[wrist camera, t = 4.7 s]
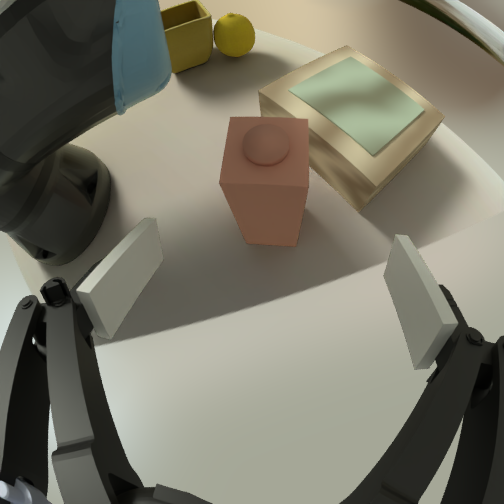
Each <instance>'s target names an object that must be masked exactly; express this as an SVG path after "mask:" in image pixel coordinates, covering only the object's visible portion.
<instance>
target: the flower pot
mask: <svg viewBox="0 0 504 504" xmlns="http://www.w3.org/2000/svg"><path fill="white" fill-rule="evenodd" d="M160 12H161V17H162V22H163V26H164V31H165V36H166V41H167V46H168V50H169V55H170V60H171V66H172V73H178V72H180V71H183V70H186V69H188V68H191V67H194V66H197V65H200V64H203V63H205V62H207V60H208V59H209V57H210V55H211V52H212V49H213V30H212V19H211V14H210V13H209V12H208V11H207V10H206V8H205V7H204V6H203V5H202V4H201V2H200V1H199V0H192V1H188V2H185V3H182V4H179V5H176V6H173V7H170V8H167V9H165V10H162V11H160Z"/></svg>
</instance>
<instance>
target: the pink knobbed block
mask: <svg viewBox="0 0 504 504" xmlns="http://www.w3.org/2000/svg"><path fill="white" fill-rule="evenodd" d="M219 184H220V186H221V188H222V190H223V193H224V195H225V197H226V199H227V201H228V204H229V206H230V208H231V210H232V212H233V215H234V217H235V219H236V221H237V223H238V226H239V228H240V230H241V232H242V234H243V237H244V239H245V241H246V243H247V244H262V245H277V246H292V247H296V245H297V241H298V236H299V231H300V227H301V222H302V217H303V213H304V208H305V203H306V198H307V193H308V188H309V129H308V119H301V118H283V117H230V122H229V127H228V133H227V139H226V144H225V150H224V156H223V162H222V168H221V174H220V181H219Z"/></svg>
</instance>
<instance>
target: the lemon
mask: <svg viewBox="0 0 504 504" xmlns="http://www.w3.org/2000/svg"><path fill="white" fill-rule="evenodd" d="M213 35H214V42H215V44H216V46H217V48H218V49H219V50H220V51H221V52H222V53H223V54H225V55H228V56H232V57H240V56H242V55H244V54H246V53H248V52H249V51H250V50H251V49H252V47H253V45H254V42H255V31H254V28H253V26H252V24H251V23H250V21H249V20H248V19H247V18H246V17H244V16H242V15H239V14H233V13H229V14H227V15H225V16H223V17H221V18H220V19H219V20H218V21H217V22H216V24H215V26H214V31H213Z"/></svg>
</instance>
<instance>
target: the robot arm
mask: <svg viewBox="0 0 504 504" xmlns="http://www.w3.org/2000/svg"><path fill="white" fill-rule="evenodd" d="M171 74H172V66H171V60H170V55H169V50H168V46H167V41H166V36H165V31H164V26H163V22H162V17H161V12H160V7H159V2H158V0H0V231H3V232H5V233H7V234H8V235H9V236H10V237H11V238H12V239H13V240H14V241H15V242H16V243H17V244H18V245H19V246H20V247H22V248H23V249H24V250H25V251H26V252H27V253H28V254H29V255H30V256H31V257H32V258H34V259H36V260H37V261H40V262H43V263H46V264H49V265H63V264H66V263H68V262H70V261H72V260H73V259H75V258H76V257H77V256H78V255H80V254H81V253H82V252H83V251H84V250H85V249H86V247H87V246H88V245H89V244H90V242H91V241H92V240H93V238H94V236H95V235H96V233H97V231H98V230H99V228H100V226H101V223H102V221H103V219H104V216H105V213H106V210H107V207H108V202H109V197H110V177H109V173H108V170H107V168H106V166H105V164H104V163H103V162H102V161H101V160H100V159H99V158H98V157H97V156H96V155H95V154H93V153H92V152H91V151H89V150H87V149H84V148H81V147H78V146H75V145H72V144H69V142H70V141H72V140H73V139H75V138H76V137H78V136H80V135H81V134H83V133H85V132H86V131H88V130H90V129H91V128H93V127H95V126H97V125H98V124H100V123H102V122H104V121H105V120H107V119H109V118H111V117H113V116H115V115H117V114H118V115H122V114H124V113H125V112H126V110H127V109H128V108H130V107H132V106H133V105H135V104H137V103H139V102H141V101H143V100H145V99H147V98H149V97H151V96H153V95H155V94H157V93H159V92H160V91H161V90H163V89H164V88H165V86H166V85H167V84H168V82H169V80H170V77H171ZM163 260H164V259H163V254H162V248H161V243H160V238H159V232H158V227H157V221H156V218H144V219H143V220H142V221H141V222H140V223H139V224H138V225H137V226H136V227H135V228H134V229H133V230H132V231H131V232H130V233H129V234H128V235H127V236H126V237H125V238H124V239H123V240H122V241H121V242H120V243H119V244H118V245H117V246H116V247H115V248H114V249H113V250H112V251H111V252H110V253H109V254H108V255H107V256H106V257H105V258H104V259H102V260H100V261H99V262H97V263H96V264H94V265H93V266H92V267H91V268H90V269H89V270H88V272H87V273H86V274H85V275H84V277H82V278H81V279H80V280H79V281H78V283H77V284H76V285H75V286H74V287H73V288H72V289H71V291H70V292H69V289H68V287H67V285H66V282H65V280H64V279H63V278H60V277H57V278H53V279H51V280H48V281H47V282H46V283H44V285H43V286H42V287H41V290H40V292H41V294H42V296H43V298H44V300H45V302H46V303H40V302H39V301H38V299H37V297H36V296H35V295H29V296H26V297H25V298H23V299H22V300H21V301H20V302H19V304H18V305H17V307H16V310H15V312H14V315H13V317H12V319H11V322H10V324H9V327H8V330H7V332H6V335H5V338H4V341H3V344H2V347H1V350H0V504H52V503H51V502H49V501H48V500H47V492H48V425H49V410H50V404H51V411H52V418H53V424H54V430H55V435H56V440H57V446H58V447H57V450H56V451H54V452H53V453H52V464H53V468H54V471H55V475H56V479H57V482H58V486H59V489H60V492H61V495H62V498H63V501H64V504H212V503H210V502H207V501H205V500H203V499H201V498H199V497H196V496H194V495H192V494H190V493H187V492H183V491H180V490H176V489H173V488H169V487H166V486H163V485H159V484H156V487H144V486H143V484H142V482H141V480H140V478H139V476H138V475H137V473H136V472H135V471H134V470H133V469H132V467H131V465H130V464H129V462H128V459H127V457H126V454H125V452H124V449H123V447H122V444H121V441H120V439H119V436H118V433H117V430H116V427H115V424H114V422H113V418H112V415H111V412H110V409H109V406H108V402H107V399H106V395H105V391H104V388H103V384H102V380H101V376H100V372H99V367H98V363H97V358H96V353H95V348H94V343H93V338H92V336H91V334H90V332H91V331H92V329H93V328H94V329H95V331H96V333H97V335H98V337H102V338H105V339H109V340H111V339H112V338H113V336H114V334H115V333H116V331H117V329H118V328H119V326H120V325H121V323H122V321H123V320H124V318H125V317H126V315H127V313H128V312H129V310H130V309H131V307H132V306H133V304H134V303H135V301H136V300H137V298H138V296H139V295H140V293H141V292H142V290H143V289H144V287H145V286H146V284H147V283H148V281H149V280H150V279H151V277H152V276H153V274H154V273H155V271H156V270H157V268H158V267H159V265H160V264H161V263H162V261H163ZM384 279H385V281H386V284H387V286H388V289H389V291H390V294H391V297H392V299H393V303H394V305H395V308H396V311H397V314H398V317H399V320H400V323H401V326H402V329H403V332H404V335H405V339H406V342H407V345H408V349H409V352H410V355H411V359H412V363H413V366H414V370H417V369H428V368H429V367H430V366H431V365H432V363H433V362H434V360H436V364H437V368H436V369H435V371H434V372H433V373H432V374H431V376H430V377H429V378H428V380H427V382H428V384H427V386H426V388H425V390H424V392H423V394H422V395H421V397H420V399H419V401H418V403H417V404H416V406H415V408H414V409H413V411H412V413H411V415H410V416H409V418H408V419H407V421H406V423H405V424H404V426H403V427H402V429H401V431H400V432H399V433H398V435H397V437H396V438H395V439H394V441H393V442H392V444H391V445H390V446H389V448H388V449H387V451H386V452H385V453H384V455H383V456H382V457H381V459H380V460H379V461H378V463H377V464H376V465H375V467H374V468H373V469H372V470H371V472H370V473H369V474H368V475H367V476H366V478H365V479H364V480H363V481H362V482H361V483H360V485H359V486H358V487H357V488H356V489H355V490H354V491H353V492H352V493H351V494H350V495H349V496H348V497H347V498H346V499H345V500H343V501H342V502H341V503H340V504H418V501H419V500H420V498H421V496H422V495H423V493H424V492H425V490H426V489H427V487H428V485H429V484H430V482H431V480H432V479H433V477H434V475H435V474H436V472H437V470H438V468H439V467H440V465H441V463H442V461H443V459H444V457H445V455H446V453H447V451H448V449H449V447H450V445H451V443H452V441H453V439H454V436H455V434H456V432H457V430H458V428H459V425H460V423H461V421H462V418H463V423H462V429H461V434H460V439H459V443H458V448H457V452H456V456H455V460H454V464H453V467H452V471H451V474H450V477H449V480H448V484H447V487H446V490H445V492H444V495H443V498H442V501H441V503H440V504H504V336H501V337H500V338H499V339H498V340H497V342H496V343H491V342H487V341H485V340H484V337H483V336H482V334H481V333H480V332H479V331H478V330H476V329H474V328H472V327H468V325H467V323H466V321H465V319H464V317H463V315H462V313H461V311H460V310H459V308H458V307H457V304H456V302H455V301H454V299H453V297H452V295H451V293H450V292H449V290H447V289H446V288H445V287H444V286H443V285H438V284H437V282H436V280H435V278H434V277H433V275H432V273H431V272H430V270H429V268H428V267H427V265H426V263H425V262H424V260H423V259H422V257H421V255H420V254H419V252H418V251H417V249H416V247H415V246H414V244H413V243H412V241H411V240H410V238H409V237H408V235H399V234H395V238H394V241H393V245H392V249H391V252H390V256H389V259H388V263H387V266H386V270H385V273H384ZM33 338H34V339H35V344H33V343H32V339H33ZM463 416H464V417H463Z"/></svg>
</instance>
